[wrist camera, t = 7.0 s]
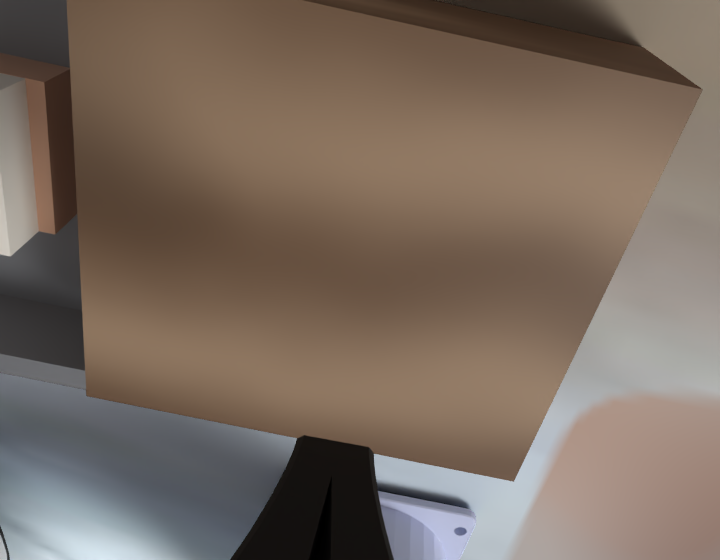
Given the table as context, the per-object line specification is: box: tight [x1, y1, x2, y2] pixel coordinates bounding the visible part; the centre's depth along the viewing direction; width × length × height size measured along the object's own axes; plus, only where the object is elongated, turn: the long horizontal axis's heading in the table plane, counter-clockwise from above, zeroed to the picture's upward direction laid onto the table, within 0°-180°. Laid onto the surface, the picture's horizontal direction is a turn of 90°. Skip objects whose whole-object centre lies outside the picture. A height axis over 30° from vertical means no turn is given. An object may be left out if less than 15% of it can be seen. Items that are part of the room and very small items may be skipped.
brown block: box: [67, 0, 703, 481], centre depth 17 cm, size 12×13×4 cm
